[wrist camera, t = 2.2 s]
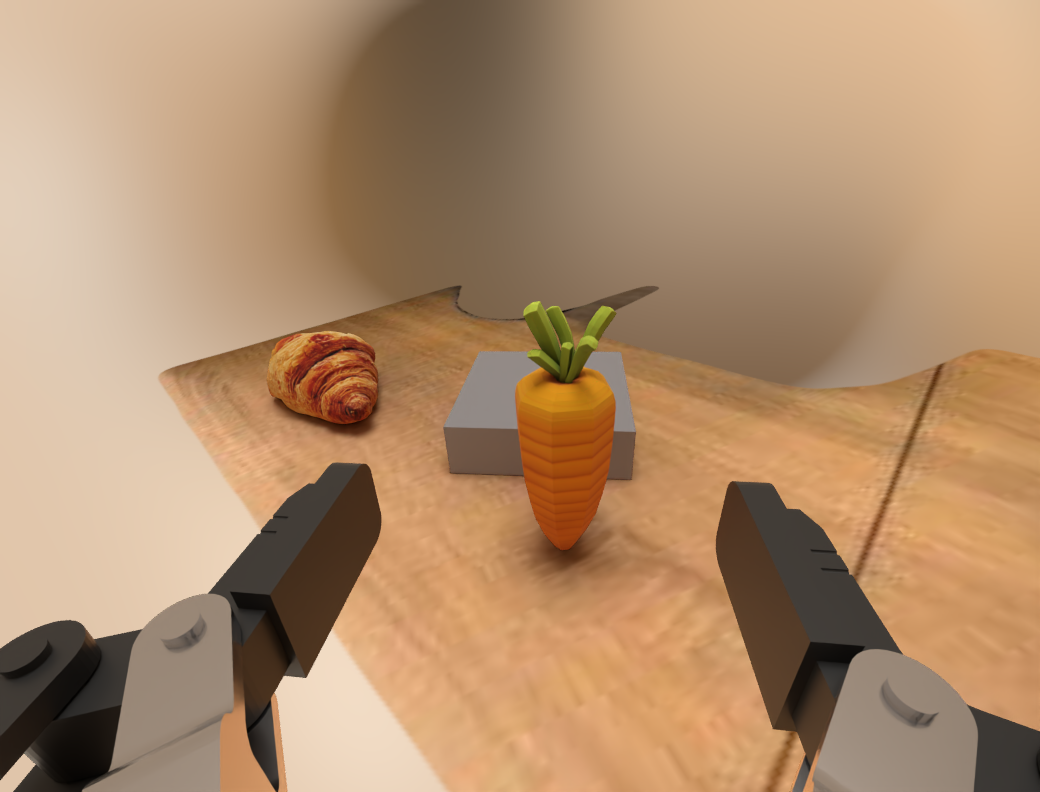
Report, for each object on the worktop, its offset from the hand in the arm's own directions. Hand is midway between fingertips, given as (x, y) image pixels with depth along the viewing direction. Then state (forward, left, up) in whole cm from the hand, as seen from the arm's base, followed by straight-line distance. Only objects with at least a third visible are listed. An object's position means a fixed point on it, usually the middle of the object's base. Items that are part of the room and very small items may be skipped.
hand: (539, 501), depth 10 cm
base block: (+2, -24, -14) cm, 28 cm away
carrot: (0, -11, -14) cm, 18 cm away
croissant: (+24, -30, -14) cm, 41 cm away
